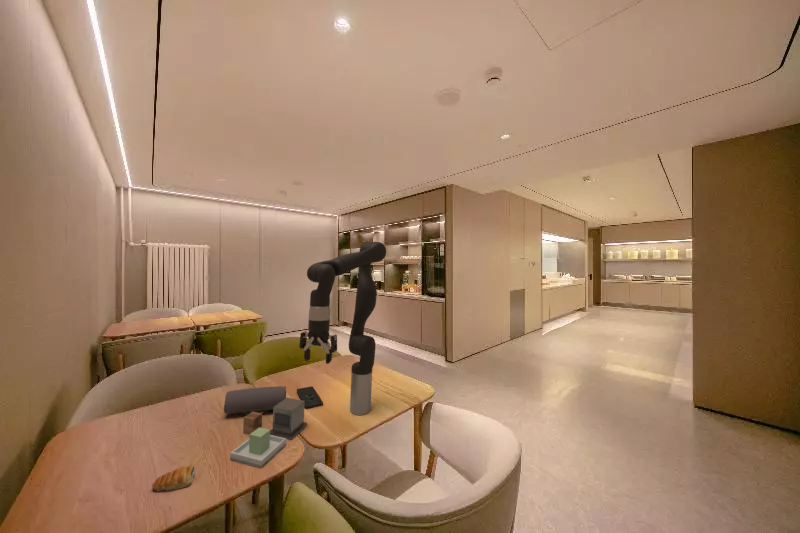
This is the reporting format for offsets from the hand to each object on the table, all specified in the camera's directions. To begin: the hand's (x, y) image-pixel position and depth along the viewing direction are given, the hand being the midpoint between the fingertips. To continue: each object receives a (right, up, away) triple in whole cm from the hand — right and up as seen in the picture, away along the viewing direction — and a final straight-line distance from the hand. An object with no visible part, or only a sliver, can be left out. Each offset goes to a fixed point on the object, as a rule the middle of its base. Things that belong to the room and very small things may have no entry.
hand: (317, 361), depth 105 cm
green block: (-17, -27, -9) cm, 33 cm away
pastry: (-34, -27, -24) cm, 49 cm away
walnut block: (-25, -27, +2) cm, 37 cm away
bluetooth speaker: (-31, -27, +16) cm, 44 cm away
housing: (-13, -28, +4) cm, 31 cm away
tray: (-17, -28, -9) cm, 34 cm away
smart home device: (-13, -28, +30) cm, 43 cm away
